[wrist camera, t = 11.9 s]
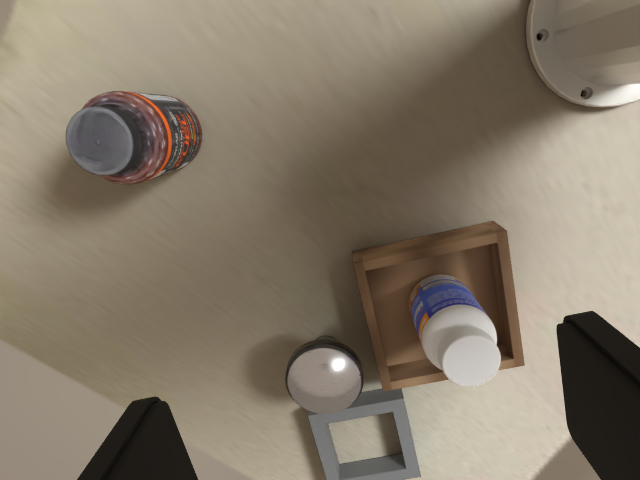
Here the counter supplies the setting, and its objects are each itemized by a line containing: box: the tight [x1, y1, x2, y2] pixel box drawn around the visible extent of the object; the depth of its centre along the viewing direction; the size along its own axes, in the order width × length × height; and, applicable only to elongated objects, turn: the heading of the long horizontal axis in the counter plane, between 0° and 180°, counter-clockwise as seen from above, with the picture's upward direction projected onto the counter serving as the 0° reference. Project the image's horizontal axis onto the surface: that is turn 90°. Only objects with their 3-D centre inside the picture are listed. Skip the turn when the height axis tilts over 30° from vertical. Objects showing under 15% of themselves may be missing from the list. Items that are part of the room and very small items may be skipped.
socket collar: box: [308, 388, 421, 480], centre depth 43 cm, size 9×9×2 cm
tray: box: [352, 221, 525, 391], centre depth 39 cm, size 12×12×3 cm
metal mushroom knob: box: [285, 336, 363, 414], centre depth 39 cm, size 6×6×6 cm
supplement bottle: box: [66, 91, 202, 184], centre depth 31 cm, size 6×6×11 cm
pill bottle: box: [409, 274, 501, 387], centre depth 35 cm, size 5×5×10 cm
